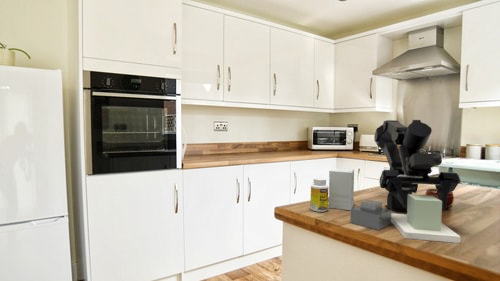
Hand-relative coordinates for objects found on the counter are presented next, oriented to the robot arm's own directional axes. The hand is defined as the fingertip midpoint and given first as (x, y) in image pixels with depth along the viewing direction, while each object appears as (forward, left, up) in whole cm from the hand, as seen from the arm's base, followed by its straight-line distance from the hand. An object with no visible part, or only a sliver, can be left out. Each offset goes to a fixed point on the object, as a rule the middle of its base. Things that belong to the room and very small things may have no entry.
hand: (424, 207), depth 74 cm
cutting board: (-1, -3, -6) cm, 7 cm away
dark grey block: (+10, -8, -6) cm, 14 cm away
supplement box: (+11, -25, -7) cm, 28 cm away
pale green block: (0, -1, -5) cm, 5 cm away
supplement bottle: (+20, -22, -7) cm, 30 cm away
